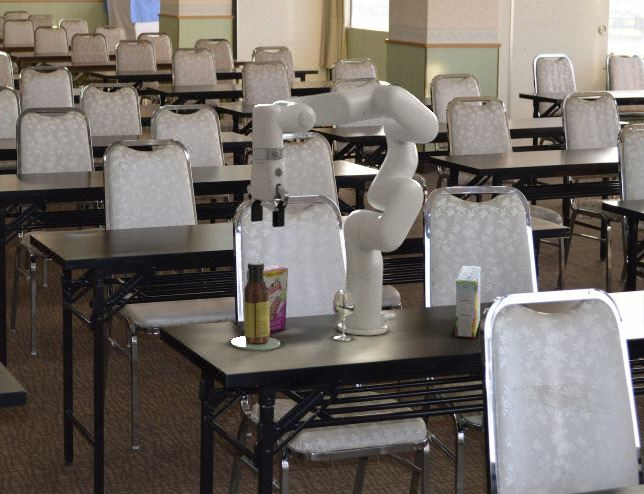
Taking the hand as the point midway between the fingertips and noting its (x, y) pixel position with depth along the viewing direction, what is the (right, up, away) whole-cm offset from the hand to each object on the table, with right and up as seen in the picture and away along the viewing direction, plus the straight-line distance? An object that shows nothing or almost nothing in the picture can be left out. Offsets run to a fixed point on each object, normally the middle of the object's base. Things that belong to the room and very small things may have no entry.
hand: (267, 224), depth 304 cm
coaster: (-3, -30, +3) cm, 30 cm away
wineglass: (+20, -30, +10) cm, 37 cm away
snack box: (+54, -29, +23) cm, 65 cm away
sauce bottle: (-3, -30, +3) cm, 30 cm away
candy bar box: (0, -28, +17) cm, 33 cm away
